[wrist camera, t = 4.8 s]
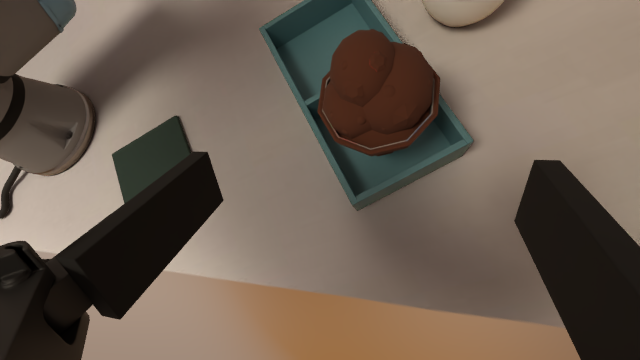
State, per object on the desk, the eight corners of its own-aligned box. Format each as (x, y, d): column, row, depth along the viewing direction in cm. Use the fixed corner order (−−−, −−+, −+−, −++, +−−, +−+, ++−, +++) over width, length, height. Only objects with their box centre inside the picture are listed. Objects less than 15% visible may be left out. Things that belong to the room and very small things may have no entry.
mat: (133, 224, 42) (129, 224, 41) (115, 155, 45) (111, 154, 45) (202, 184, 40) (200, 183, 40) (178, 116, 44) (175, 115, 43)
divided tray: (357, 211, 35) (352, 205, 30) (272, 51, 43) (258, 28, 38) (462, 155, 33) (474, 140, 29) (354, 1, 41) (350, -29, 37)
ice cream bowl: (331, 175, 35) (291, 126, 21) (342, 92, 38) (313, -3, 23) (423, 183, 33) (447, 132, 19) (429, 92, 35) (455, -14, 21)
